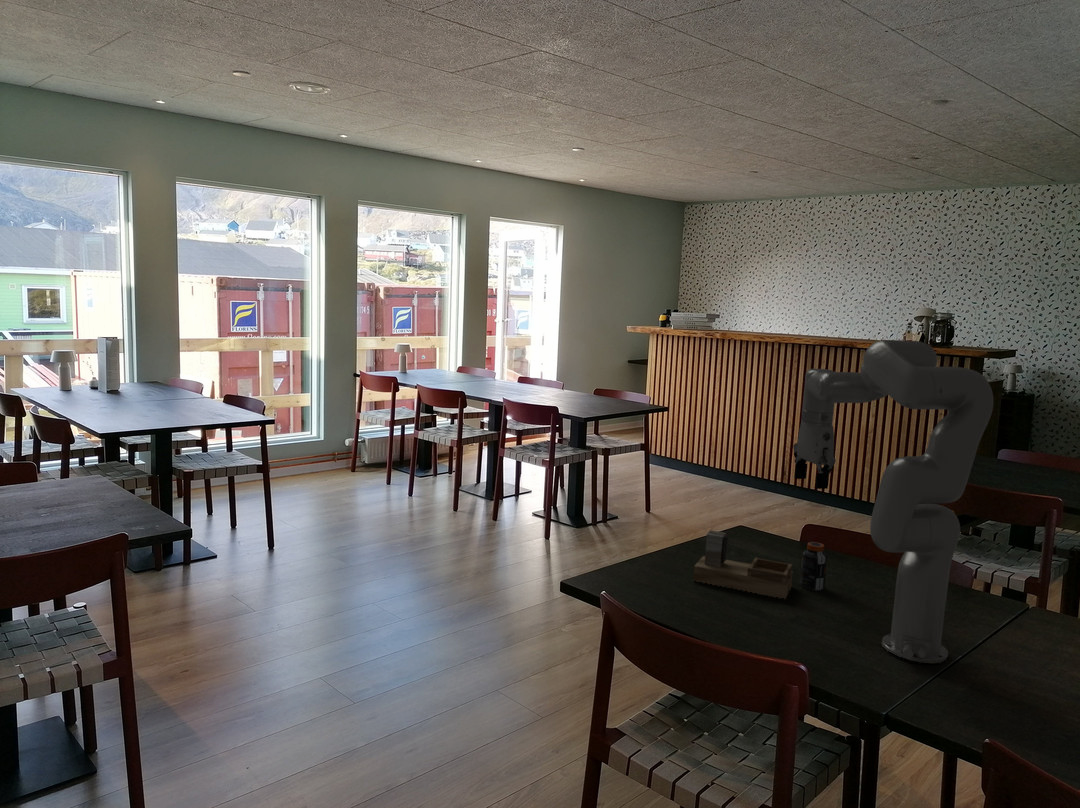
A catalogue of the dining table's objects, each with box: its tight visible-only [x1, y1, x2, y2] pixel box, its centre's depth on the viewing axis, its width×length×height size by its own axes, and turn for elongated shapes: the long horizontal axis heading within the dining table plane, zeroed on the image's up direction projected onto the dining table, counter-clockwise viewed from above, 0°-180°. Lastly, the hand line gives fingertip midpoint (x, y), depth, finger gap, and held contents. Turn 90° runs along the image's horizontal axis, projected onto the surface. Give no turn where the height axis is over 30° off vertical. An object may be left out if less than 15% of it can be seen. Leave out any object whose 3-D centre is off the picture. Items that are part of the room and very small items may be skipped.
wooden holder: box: [692, 529, 794, 600], centre depth 199 cm, size 10×23×12 cm, turn 64°
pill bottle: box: [799, 541, 828, 591], centre depth 199 cm, size 6×6×11 cm
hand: (810, 483), depth 201 cm, fingers open, 9 cm apart
